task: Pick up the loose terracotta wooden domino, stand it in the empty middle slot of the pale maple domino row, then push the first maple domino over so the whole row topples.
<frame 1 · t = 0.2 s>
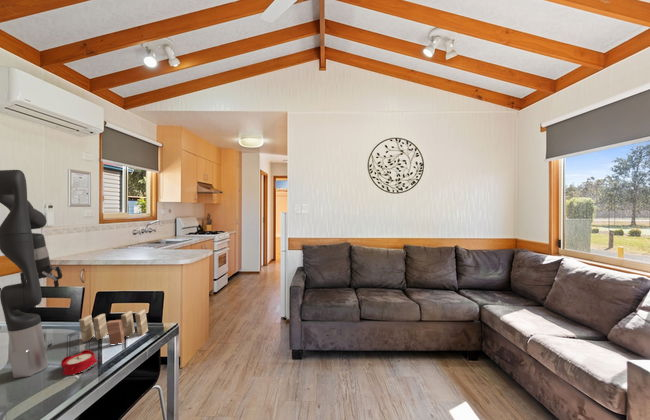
hand: (44, 290, 153), 22 cm above the table, tool pointing down, fingers open, 8 cm apart
domino 2: (129, 334, 149), on the table
domino 4: (88, 339, 148), on the table
alarm clock: (80, 367, 124), on the table
gap domino: (117, 343, 140), on the table
domino 3: (102, 337, 148), on the table
domino 1: (143, 333, 149), on the table
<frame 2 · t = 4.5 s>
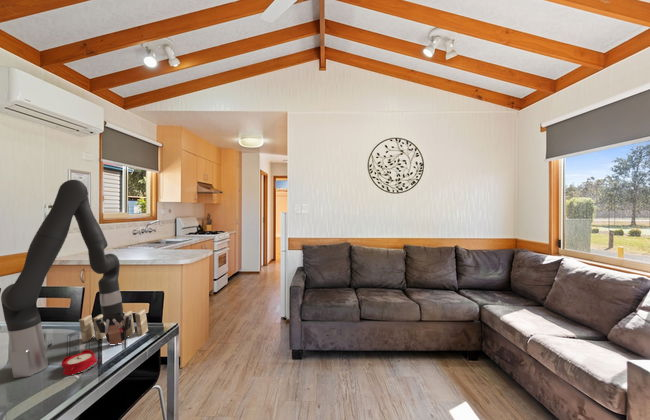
hand: (117, 340, 140), 1 cm above the table, tool pointing down, fingers closed on gap domino, 5 cm apart
gap domino: (117, 343, 140), on the table, touching gripper
everything else where it was.
when the fingers open (2 cm above the table, at t = 10.9 s): gap domino stays where it is, on the table.
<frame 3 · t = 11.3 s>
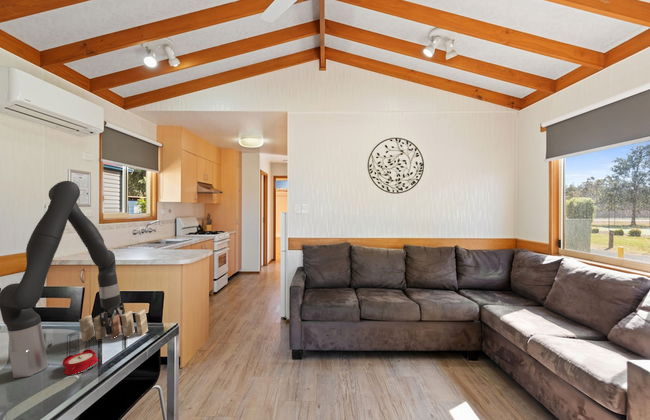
hand: (115, 329, 148), 3 cm above the table, tool pointing down, fingers open, 8 cm apart
gap domino: (116, 336, 148), on the table
everything else where it was.
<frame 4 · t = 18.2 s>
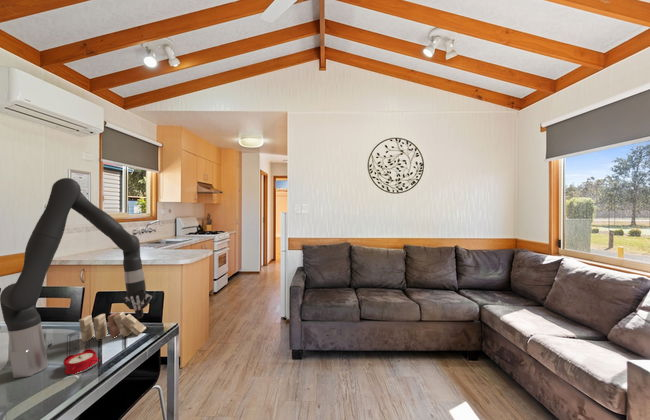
hand: (140, 317, 148), 7 cm above the table, tool pointing down, fingers closed
domino 2: (129, 333, 149), on the table, tilted 21°
domino 1: (142, 331, 149), point 1 cm above the table, tilted 42°
everything else where it was.
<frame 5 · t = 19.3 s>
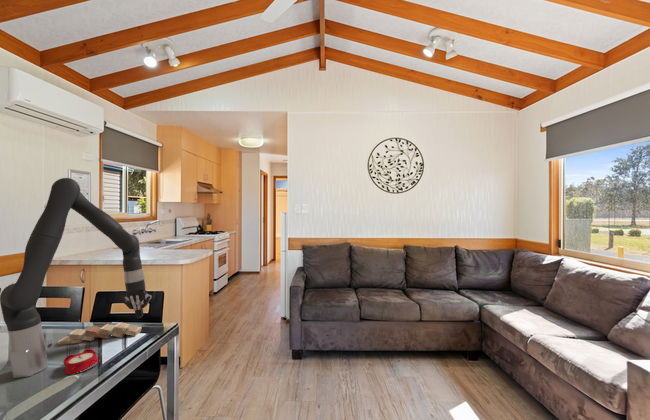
hand: (139, 317, 148), 8 cm above the table, tool pointing down, fingers closed
domino 2: (125, 333, 148), point 1 cm above the table, tilted 71°, touching domino 1, gap domino
domino 4: (85, 338, 148), on the table, tilted 90°
gap domino: (111, 334, 148), point 1 cm above the table, tilted 72°, touching domino 2, domino 3
domino 3: (96, 336, 148), point 1 cm above the table, tilted 75°, touching gap domino
domino 1: (138, 331, 149), point 1 cm above the table, tilted 70°, touching domino 2
everything else where it was.
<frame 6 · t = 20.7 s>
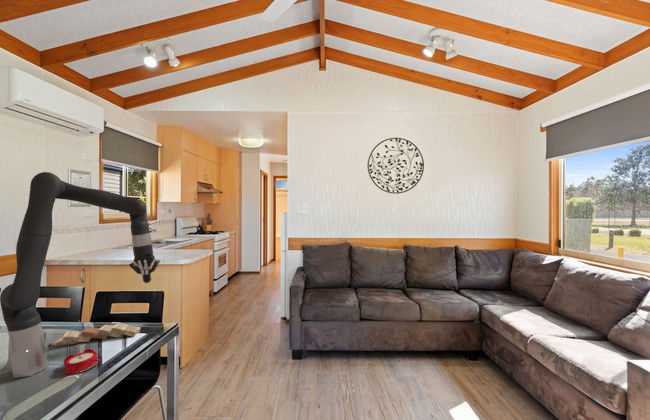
hand: (147, 282, 147), 23 cm above the table, tool pointing down, fingers closed
domino 2: (124, 333, 148), point 1 cm above the table, tilted 72°, touching gap domino
domino 4: (82, 339, 147), on the table, tilted 90°
gap domino: (109, 334, 148), point 1 cm above the table, tilted 72°, touching domino 2, domino 3
domino 3: (91, 336, 147), point 1 cm above the table, tilted 73°, touching gap domino
domino 1: (137, 332, 148), point 1 cm above the table, tilted 70°
everything else where it was.
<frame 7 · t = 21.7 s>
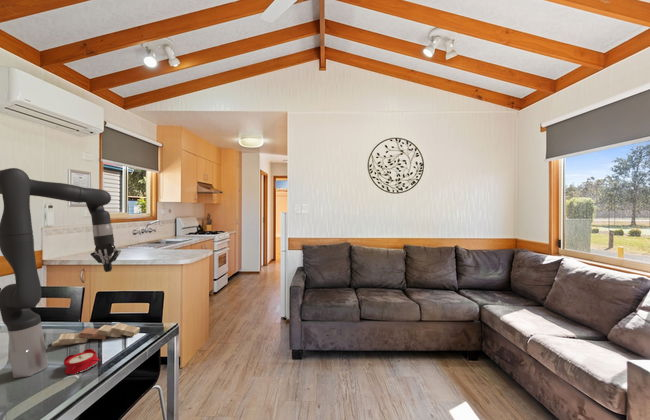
hand: (108, 271, 151), 28 cm above the table, tool pointing down, fingers closed
domino 2: (123, 333, 148), point 1 cm above the table, tilted 72°, touching domino 1, gap domino
domino 3: (88, 337, 146), point 1 cm above the table, tilted 76°, touching gap domino
domino 1: (136, 332, 148), point 1 cm above the table, tilted 70°, touching domino 2
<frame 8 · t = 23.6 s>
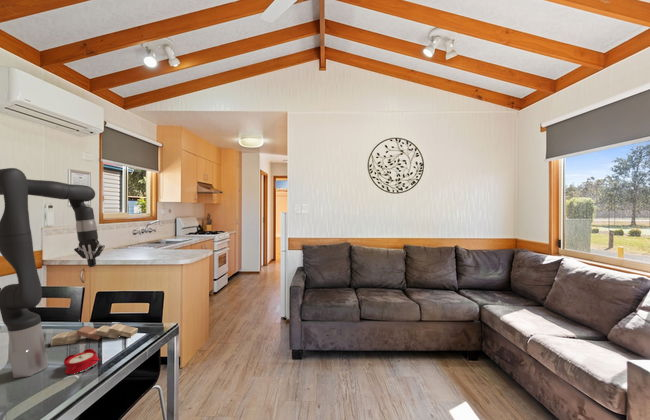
hand: (92, 266, 153), 31 cm above the table, tool pointing down, fingers closed
domino 4: (78, 339, 148), on the table, tilted 90°, touching domino 3
gap domino: (103, 335, 148), point 1 cm above the table, tilted 70°, touching domino 2, domino 3
domino 3: (80, 334, 148), point 2 cm above the table, tilted 90°, touching domino 4, gap domino
at the end: domino 4 tilted 90°; gap domino tilted 70°; the gripper is holding nothing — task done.
